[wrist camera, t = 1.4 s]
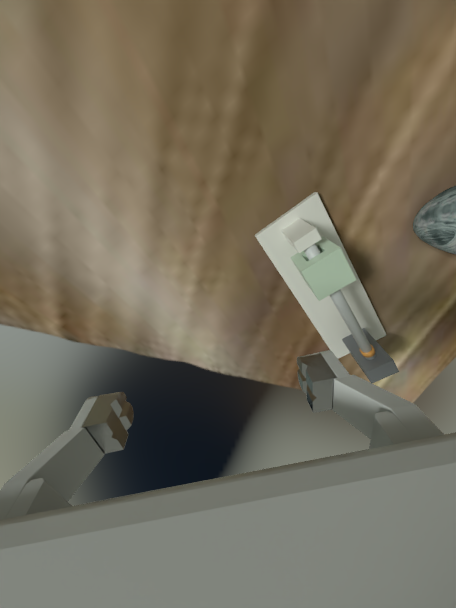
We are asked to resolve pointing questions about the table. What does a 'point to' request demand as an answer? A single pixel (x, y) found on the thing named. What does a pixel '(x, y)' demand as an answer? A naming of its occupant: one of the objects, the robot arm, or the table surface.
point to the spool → (438, 221)
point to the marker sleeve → (324, 269)
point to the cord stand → (338, 306)
